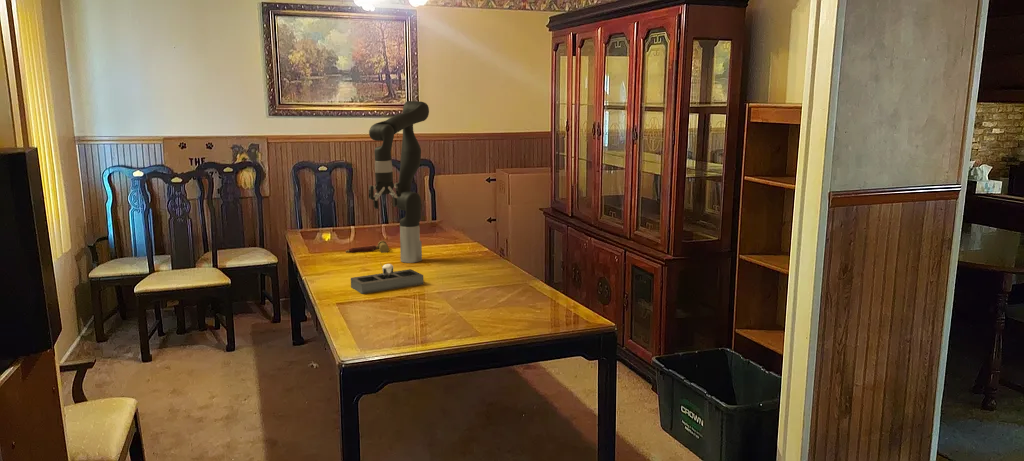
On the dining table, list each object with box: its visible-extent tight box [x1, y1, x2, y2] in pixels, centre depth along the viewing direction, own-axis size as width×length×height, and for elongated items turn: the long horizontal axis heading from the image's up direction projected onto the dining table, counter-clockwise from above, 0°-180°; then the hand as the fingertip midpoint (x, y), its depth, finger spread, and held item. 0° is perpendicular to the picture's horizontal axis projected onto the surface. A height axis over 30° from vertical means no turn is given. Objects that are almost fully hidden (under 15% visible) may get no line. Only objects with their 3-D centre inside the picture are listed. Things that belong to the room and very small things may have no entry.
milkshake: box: [379, 262, 394, 279], centre depth 288 cm, size 4×5×10 cm
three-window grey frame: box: [350, 268, 424, 295], centre depth 289 cm, size 27×12×4 cm, turn 124°
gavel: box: [345, 240, 390, 254], centre depth 354 cm, size 21×5×10 cm
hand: (385, 207), depth 306 cm, fingers open, 8 cm apart
